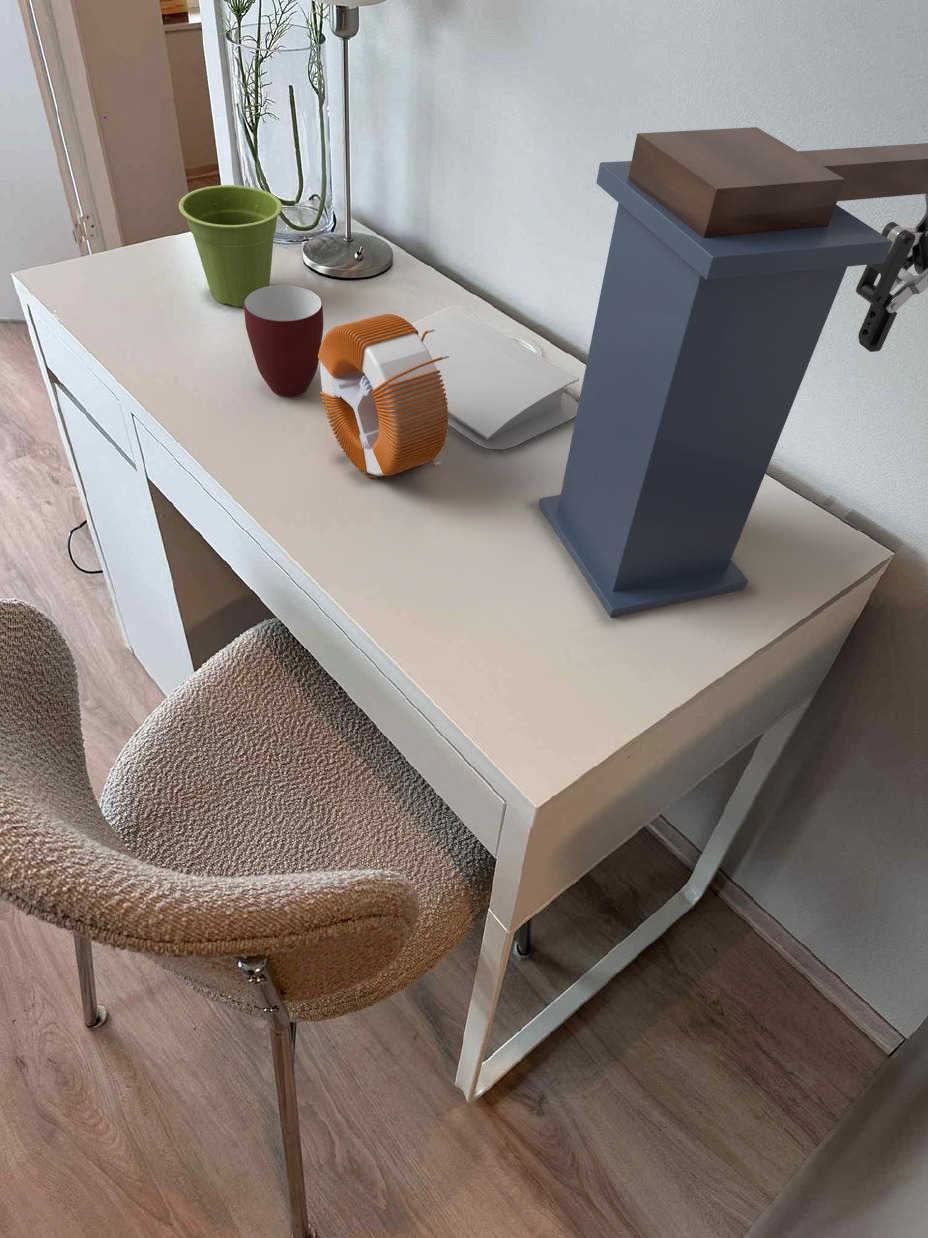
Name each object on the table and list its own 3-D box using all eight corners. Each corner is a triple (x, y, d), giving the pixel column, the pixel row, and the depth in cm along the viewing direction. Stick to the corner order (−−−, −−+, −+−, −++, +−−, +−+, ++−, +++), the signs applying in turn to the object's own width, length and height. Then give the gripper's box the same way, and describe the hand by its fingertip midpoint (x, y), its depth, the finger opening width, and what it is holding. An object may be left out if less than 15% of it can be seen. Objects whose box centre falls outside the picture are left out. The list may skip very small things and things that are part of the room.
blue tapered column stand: (661, 484, 92) (760, 154, 69) (745, 588, 82) (893, 241, 59) (538, 505, 88) (599, 161, 65) (610, 617, 77) (712, 256, 55)
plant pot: (172, 295, 111) (156, 202, 103) (240, 265, 118) (231, 176, 110) (239, 327, 107) (229, 234, 99) (307, 294, 114) (302, 205, 106)
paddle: (890, 160, 70) (906, 118, 68) (983, 210, 64) (1004, 166, 62) (627, 178, 63) (636, 132, 61) (703, 237, 56) (716, 188, 54)
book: (454, 326, 112) (457, 296, 109) (590, 409, 101) (597, 378, 98) (358, 362, 104) (357, 331, 101) (493, 456, 93) (497, 424, 90)
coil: (394, 509, 85) (398, 372, 75) (316, 431, 93) (309, 297, 83) (452, 487, 89) (464, 352, 78) (372, 413, 97) (372, 281, 86)
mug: (229, 370, 100) (218, 284, 93) (292, 352, 104) (287, 269, 97) (274, 415, 95) (266, 328, 88) (339, 395, 99) (337, 310, 91)
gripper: (960, 166, 63) (867, 371, 75) (1108, 163, 67) (998, 359, 79) (894, 131, 68) (816, 329, 79) (1035, 131, 72) (942, 320, 84)
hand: (907, 344), depth 79 cm, fingers open, 8 cm apart
